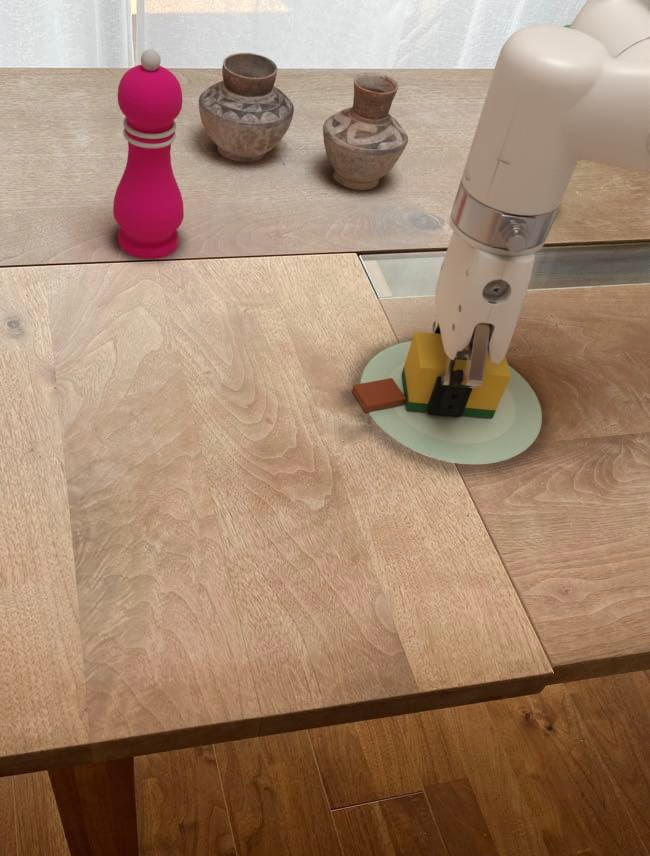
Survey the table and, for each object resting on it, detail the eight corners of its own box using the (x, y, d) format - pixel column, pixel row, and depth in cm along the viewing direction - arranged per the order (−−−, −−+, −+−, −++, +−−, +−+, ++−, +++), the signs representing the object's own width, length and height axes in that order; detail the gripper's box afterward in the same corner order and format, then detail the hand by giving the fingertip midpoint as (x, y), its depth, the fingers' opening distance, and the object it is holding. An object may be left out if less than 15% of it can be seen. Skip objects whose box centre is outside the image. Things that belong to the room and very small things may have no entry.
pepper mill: (196, 251, 95) (208, 55, 80) (145, 276, 91) (147, 75, 76) (150, 221, 98) (154, 26, 82) (99, 244, 94) (93, 44, 79)
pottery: (387, 216, 103) (411, 113, 94) (183, 166, 106) (187, 61, 97) (403, 170, 110) (427, 71, 101) (211, 125, 113) (218, 24, 104)
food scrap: (390, 384, 82) (392, 377, 82) (404, 405, 81) (406, 398, 80) (351, 391, 81) (353, 384, 81) (365, 413, 80) (367, 406, 79)
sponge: (484, 382, 84) (501, 340, 80) (492, 419, 81) (511, 376, 77) (401, 374, 83) (414, 331, 79) (406, 410, 80) (420, 367, 76)
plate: (521, 357, 89) (525, 347, 88) (553, 481, 78) (558, 472, 77) (353, 341, 88) (355, 331, 87) (362, 464, 77) (365, 455, 76)
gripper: (574, 282, 62) (493, 462, 76) (531, 160, 73) (467, 338, 87) (469, 272, 62) (407, 455, 76) (441, 151, 73) (392, 331, 87)
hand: (440, 391), depth 81 cm, fingers closed on sponge, 5 cm apart
